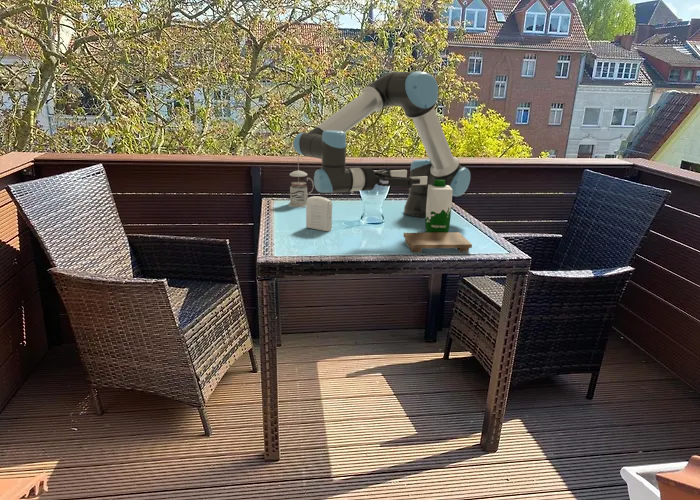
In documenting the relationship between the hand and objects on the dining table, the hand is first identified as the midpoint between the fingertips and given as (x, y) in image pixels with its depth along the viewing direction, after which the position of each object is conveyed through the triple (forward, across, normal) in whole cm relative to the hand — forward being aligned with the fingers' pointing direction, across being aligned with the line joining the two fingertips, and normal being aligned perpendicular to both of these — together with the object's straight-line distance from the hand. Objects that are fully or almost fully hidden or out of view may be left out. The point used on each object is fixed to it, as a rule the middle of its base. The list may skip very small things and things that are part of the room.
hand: (416, 176), depth 171 cm
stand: (+3, +12, -22) cm, 25 cm away
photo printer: (-27, -22, -23) cm, 42 cm away
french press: (-21, -62, -22) cm, 70 cm away
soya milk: (+11, 0, -22) cm, 25 cm away
